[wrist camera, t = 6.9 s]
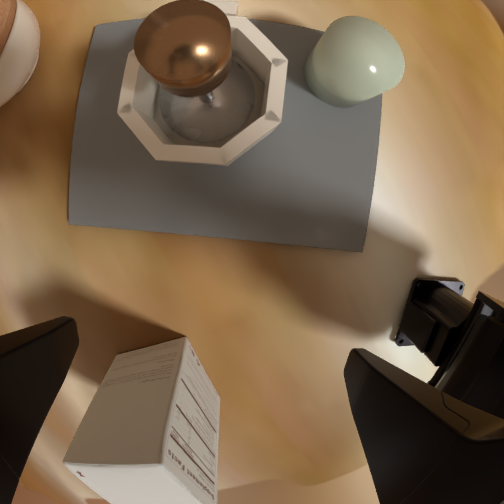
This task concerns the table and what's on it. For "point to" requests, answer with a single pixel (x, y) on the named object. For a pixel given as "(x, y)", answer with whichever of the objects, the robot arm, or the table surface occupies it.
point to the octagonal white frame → (227, 150)
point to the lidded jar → (17, 47)
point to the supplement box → (151, 430)
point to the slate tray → (238, 172)
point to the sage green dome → (353, 62)
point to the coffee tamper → (195, 70)
